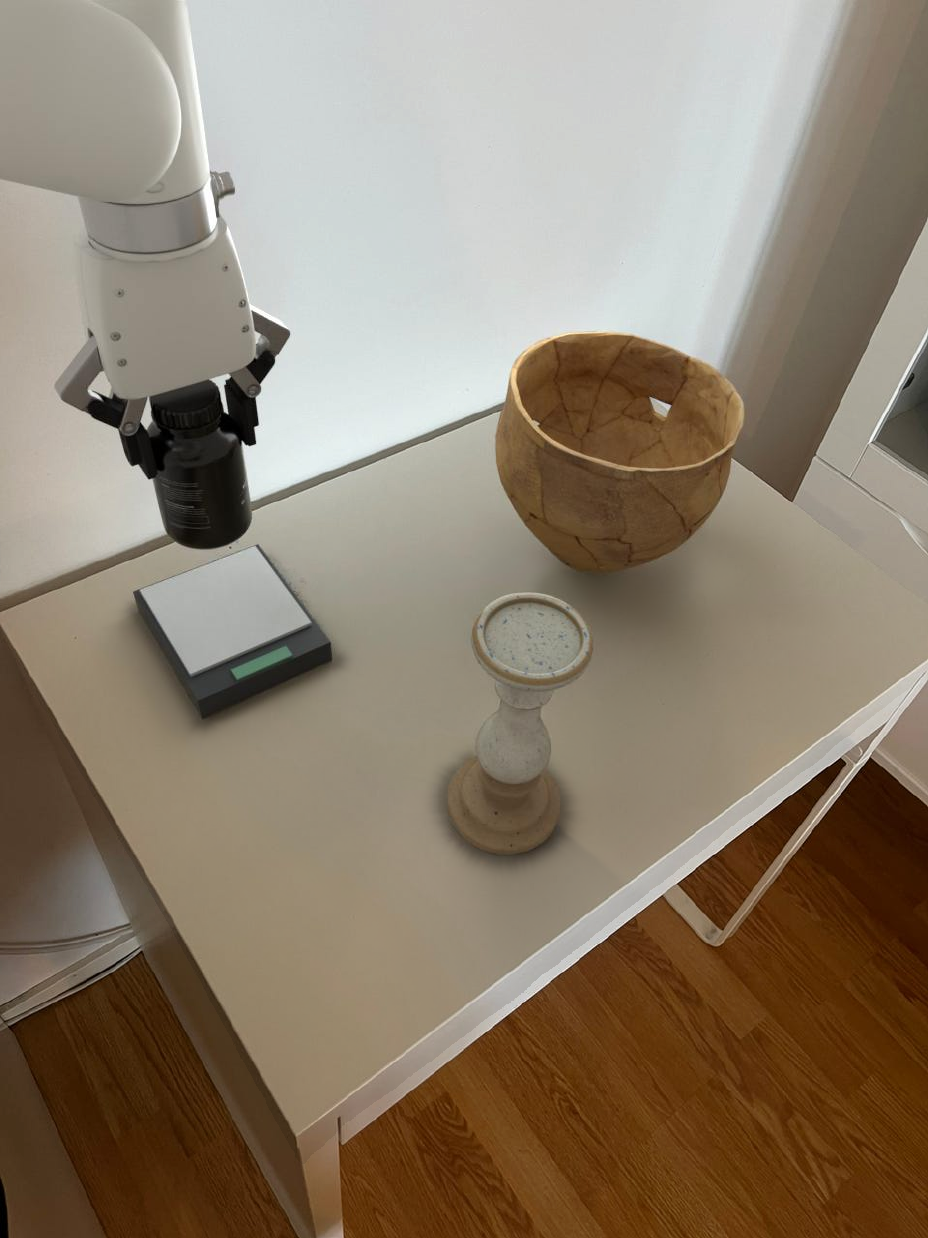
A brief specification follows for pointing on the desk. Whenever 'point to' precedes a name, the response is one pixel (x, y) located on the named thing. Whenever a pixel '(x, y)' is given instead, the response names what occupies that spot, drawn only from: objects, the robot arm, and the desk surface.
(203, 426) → the supplement bottle
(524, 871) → the desk surface
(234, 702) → the scale
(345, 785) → the desk surface
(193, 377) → the robot arm
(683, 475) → the bowl
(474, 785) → the candle holder
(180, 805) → the desk surface
